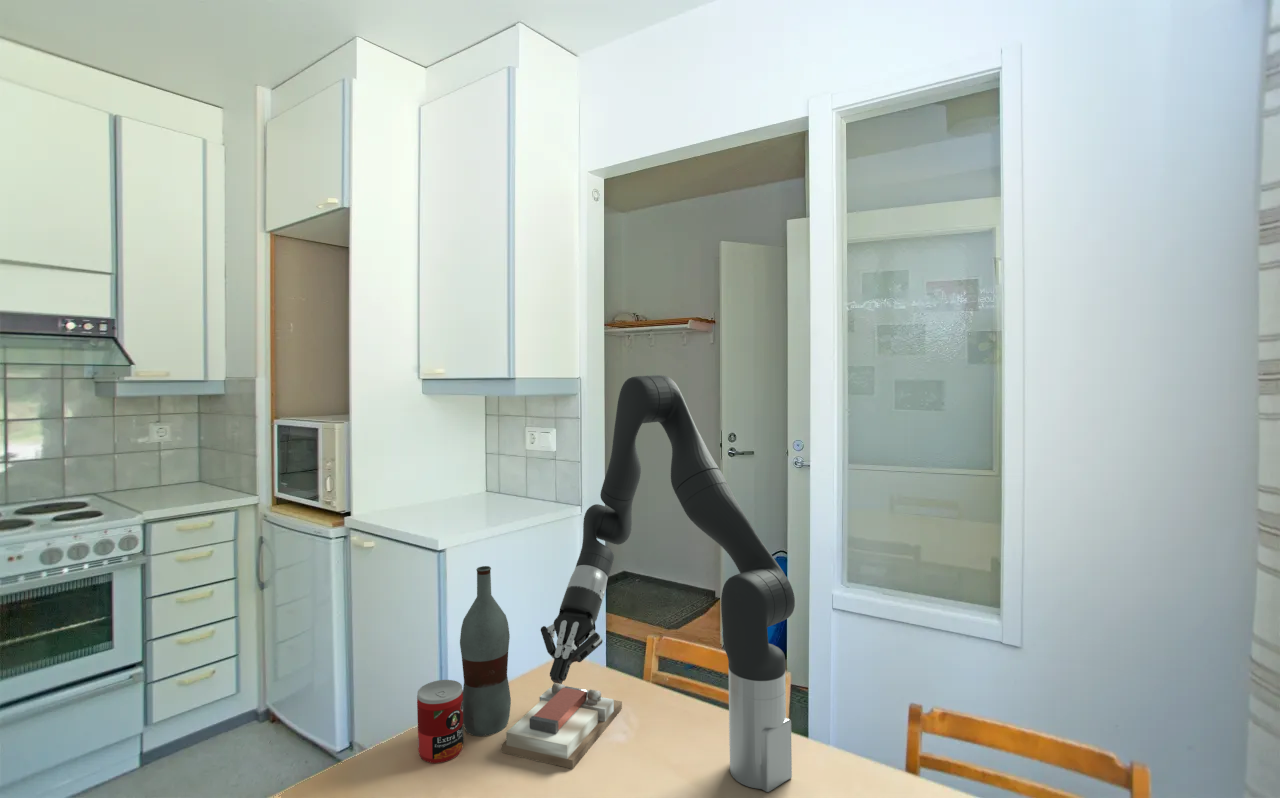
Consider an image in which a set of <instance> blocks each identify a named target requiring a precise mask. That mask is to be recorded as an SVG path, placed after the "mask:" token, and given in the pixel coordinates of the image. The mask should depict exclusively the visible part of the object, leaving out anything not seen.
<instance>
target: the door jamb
mask: <svg viewBox="0 0 1280 798" xmlns="http://www.w3.org/2000/svg"><path fill="white" fill-rule="evenodd" d="M565 686H566V685H565V684H563V683H562V684H559V683H554V682H553V684H552V686H551V687H549V688H548V689H547V690H545V691H544V692H543V693H542V694H541V695H540V696H539V697H538V698H539V699H538V700H539V702H537V703H536V704H535V705H534V707H532V708H531V709H530V710H529V711H527V713H526V714H525V715H523V716H522V717H521V718H520V719H519V720H518V721H517V722H516V723H515V724H514V725H512V727H510V728H509V729H508V730H507V731H506V732H505V735H506V736H505V738H506V740H504V742H502V743H501V753H502V754H507V755H510V756H514V757H519V758H523V759H527V760H530V761H531V760H533V761H537V762H540V763H545V764H550V765H553V766H559V767H561V768H565V769H566V768H567V769H571V770H574V768H575V767H576V766H577V765H578V764H579V763H580V761H581V760H582V759H583V758H584V756H585V755H586V754H587V753H588V751H589V750H590V749H591V748H592V746H593V745H594V744H595V743H596V742H597V740H598V739H599V738H600V737H601V735H602V734H603V733H604V732H605V730H606V729H607V728H608V727H609V726H610V724H611V723H612V722H613V721H614V720H615V718H616V717H617V716H618V715H619V713H620V712H621V709H622V710H623V701H620V700H615V699H614V698H608V697H602V692H601V690H596V689H589V692H588V698H586V699H587V700H586V701H585V702H584V703H583V704H582V705H581V706H580V707H579V708H578V710H577V711H576V712H575V713H574V714H573V715H572V716H571V717H570V718H569V719H568V720H567V721H566V722H565V724H564V725H563V726H562V727H561V728H560V729H559V731H558V732H557V733H556V734H553V733H548V732H543V731H538V730H534V729H530V718H531V717H532V716H534V715H535V714H536V713H537V712H538V711H539V710H540V709H541V708H542V707H543V706H544V705H545V704H546V703H547V702H548V701H550V700H551V699H552V698H553V697H554V696H555V695H556V694H557V693H558V692H559V691H560V690H561V689H562V688H563V687H565ZM617 714H618V715H617Z"/></svg>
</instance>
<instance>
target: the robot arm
mask: <svg viewBox="0 0 1280 798" xmlns="http://www.w3.org/2000/svg"><path fill="white" fill-rule="evenodd" d="M614 422H615V423H614V428H613V429H614V430H613V439H612V446H611V454H610V459H609V463H608V467H607V470H606V473H605V477H604V479H603V483H602V486H601V490H600V499H601V501H602V503H603V504H605V505H606V506H605V505H602V504H599V503H598V504H595V503H594V504H593V505H591V506H589V507H588V509H587V510H586V512H585V513H584V515H583V516H584V517H583V522H582V523H583V526H582V528H583V530H582V532H583V534H582V544H581V545H582V546H581V549H580V553H579V557H578V559H577V562H576V564H575V568H574V570H573V572H572V574H571V576H570V578H569V581H568V583H567V584H568V585H567V586H566V589H565V592H564V595H563V598H562V601H561V604H560V608H559V612H558V615H557V616H556V618H555V619H554V621H553V623H552V624H551V625H549V626H546V625H543V626H541V627H540V632H541V636H542V639H543V643H544V645H545V648H546V651H547V653H548V654H549V655H550V657H551V658H552V659H553V662H552V665H551V669H550V672H549V677H550V680H551V681H552V682H553V684H554V683H557V684H563V682H565V681H566V679H567V676H568V673H569V671H570V669H571V668H570V667H571V665H572V664H574V663H576V662H577V663H581V662H582V661H584V660H585V659H586V658H587V657H588V656H590V654H592V652H594V651H595V650H596V649H598V648H599V647H600V646H601V645H602V643H603V642H604V641H603V638H602V637H601V635H600V634H599V633H598V632H596V622H597V619H598V617H599V614H600V610H601V606H602V604H603V600H604V598H605V593H606V589H607V583H608V579H609V576H610V573H611V569H612V566H613V563H614V560H615V559H614V556H615V555H614V552H613V551H612V549H610V548H609V547H608V546H607V545H605V544H604V543H602V542H600V541H603V542H606V543H610V544H613V545H617V546H619V545H623V544H624V543H625V542H627V541H628V540H629V538H630V535H631V533H632V532H631V531H632V525H633V522H632V520H633V519H632V506H633V502H634V498H635V495H636V492H637V488H638V486H639V483H640V480H641V472H642V468H641V467H642V466H641V461H640V458H639V454H638V451H637V446H636V442H637V441H636V439H637V436H638V433H639V430H640V429H641V426H642V425H643V424H649V423H650V424H651V423H659V424H660V425H661V426H662V428H663V430H664V432H665V433H666V435H667V438H668V440H669V442H670V444H671V464H670V483H671V487H672V489H673V491H674V493H675V497H676V498H677V499H678V501H679V503H680V505H681V507H682V509H683V511H684V513H685V514H686V516H687V518H689V520H690V521H691V523H693V524H694V525H695V526H696V527H697V528H698V529H699V530H701V531H702V532H703V533H704V534H706V535H707V536H708V537H709V538H711V539H712V541H714V542H715V543H717V544H718V545H719V546H721V548H722V549H724V551H725V552H726V553H727V554H728V555H729V557H730V559H731V560H732V562H733V563H734V564H735V567H736V568H737V570H738V572H739V573H736V574H734V575H732V576H730V577H729V578H728V579H727V580H726V581H725V582H724V585H723V587H722V589H721V598H720V608H721V609H720V610H721V612H720V613H721V625H722V642H723V648H724V651H725V654H726V656H727V661H728V729H729V730H728V732H729V733H728V734H729V735H728V736H729V739H728V740H729V744H728V745H729V771H730V774H731V776H732V779H734V780H735V781H736V782H737V783H740V784H741V785H743V786H746V787H749V788H753V789H757V790H758V789H759V790H763V791H764V792H766V793H769V792H771V791H772V790H774V789H776V788H777V787H779V786H780V785H782V784H784V783H785V782H787V781H788V780H790V779H792V777H793V774H792V773H793V771H792V769H793V767H792V766H793V763H792V762H793V761H792V759H793V758H792V751H793V750H792V720H791V719H790V718H788V717H787V710H786V709H787V708H786V707H787V701H786V700H787V695H786V692H787V691H786V681H787V680H786V656H785V653H784V651H783V650H782V649H781V648H780V647H779V646H776V645H775V644H773V643H769V636H768V635H769V634H768V627H769V628H770V627H771V626H775V625H776V624H779V623H781V622H784V621H785V620H788V619H789V618H790V617H791V615H792V614H793V612H794V610H795V606H796V601H795V600H796V599H795V594H794V589H793V587H792V584H791V582H790V581H789V579H788V577H787V576H786V574H785V572H784V571H783V569H782V568H781V566H780V565H779V563H778V562H777V560H776V559H775V558H774V557H773V555H772V554H771V552H770V551H769V550H768V548H767V547H766V545H765V544H764V543H763V540H762V539H761V537H759V535H758V533H757V532H756V530H755V528H754V527H753V525H752V524H751V521H750V520H749V519H748V516H747V515H746V513H745V512H744V509H743V508H742V507H741V505H740V504H739V502H738V500H737V499H736V496H735V495H734V493H733V491H732V489H731V487H730V485H729V484H728V482H727V480H726V477H725V475H723V473H722V471H721V469H720V468H719V466H718V465H717V463H716V461H715V460H714V458H713V456H712V454H711V452H710V450H709V449H708V447H707V445H706V443H705V441H704V439H703V437H702V435H701V434H700V432H699V430H698V427H697V426H696V424H695V421H694V419H693V416H692V415H691V413H690V409H689V408H688V406H687V403H686V401H685V398H684V396H683V394H682V391H681V390H680V388H679V386H678V384H677V383H676V382H675V381H674V380H673V379H672V378H671V377H669V376H666V375H662V374H660V375H658V374H657V375H656V374H654V375H638V376H637V375H636V376H632V377H629V378H627V379H626V380H625V381H624V383H622V385H621V388H620V390H619V395H618V401H617V407H616V414H615V421H614ZM599 540H600V541H599ZM555 633H556V634H555ZM555 636H556V637H557V640H556V645H555V640H554V638H555Z"/></svg>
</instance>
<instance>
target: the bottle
mask: <svg viewBox="0 0 1280 798" xmlns="http://www.w3.org/2000/svg"><path fill="white" fill-rule="evenodd" d="M491 570H492V568H491V566H489V565H485V566H484V565H482V566H478V567H476V598H475V599H474V601H473V603H472V604H471V606H470V608H469V609H468V611H467V612H466V614H465V616H464V618H463V620H462V624H461V627H460V635H459V636H460V637H459V647H460V648H459V649H460V653H461V663H462V664H461V665H462V672H463V673H462V674H463V685H462V690H463V728H464V729H465V732H466V733H467V734H469V735H471V736H476V737H484V736H485V737H487V736H491V735H493V734H495V735H496V734H497V733H499V732H501V731H503V730H504V729H505V728H507V725H508V723H509V719H510V716H511V706H512V705H511V703H512V699H511V698H512V697H511V690H510V684H509V683H510V682H509V678H508V662H509V661H508V660H509V646H510V638H511V637H510V627H509V622H508V618H507V616H506V613H505V612H504V611H503V609H502V607H500V605H499V604H498V602H497V601H496V599H495V598H494V596H493V595H492V578H491V577H492V576H491Z"/></svg>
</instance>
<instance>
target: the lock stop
mask: <svg viewBox="0 0 1280 798" xmlns="http://www.w3.org/2000/svg"><path fill="white" fill-rule="evenodd" d="M589 690H590V689H589ZM589 690H588V689H585V688H584V689H583V688H579V687H578V688H577V687H572V686H567V685H565V687H563V688H562V689H561V690H560V691H559V692H558V693H557V694H556V695H555V696H554V697H553V698H552V699H551V700H550V701H548V702H547V703H546V704H545V705H544V706H543V707H542V708H541V709H540V710H539V711H538V712H537V713H536V714H535V715H534V716H532V717H531V718H530V729H534V730H538V731H543V732H548V733H553V734H556V733H557V732H558V731H559V729H560V728H561V727H562V726H563V725H564V724H565V722H566V721H567V720H568V719H569V718H570V717H571V716H572V715H573V714H574V713H575V712H576V711H577V710H578V708H579V707H580V706H581V705H582V704H583V703H584V702H585V701H586V700H587V699H586V698H588V692H589Z"/></svg>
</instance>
